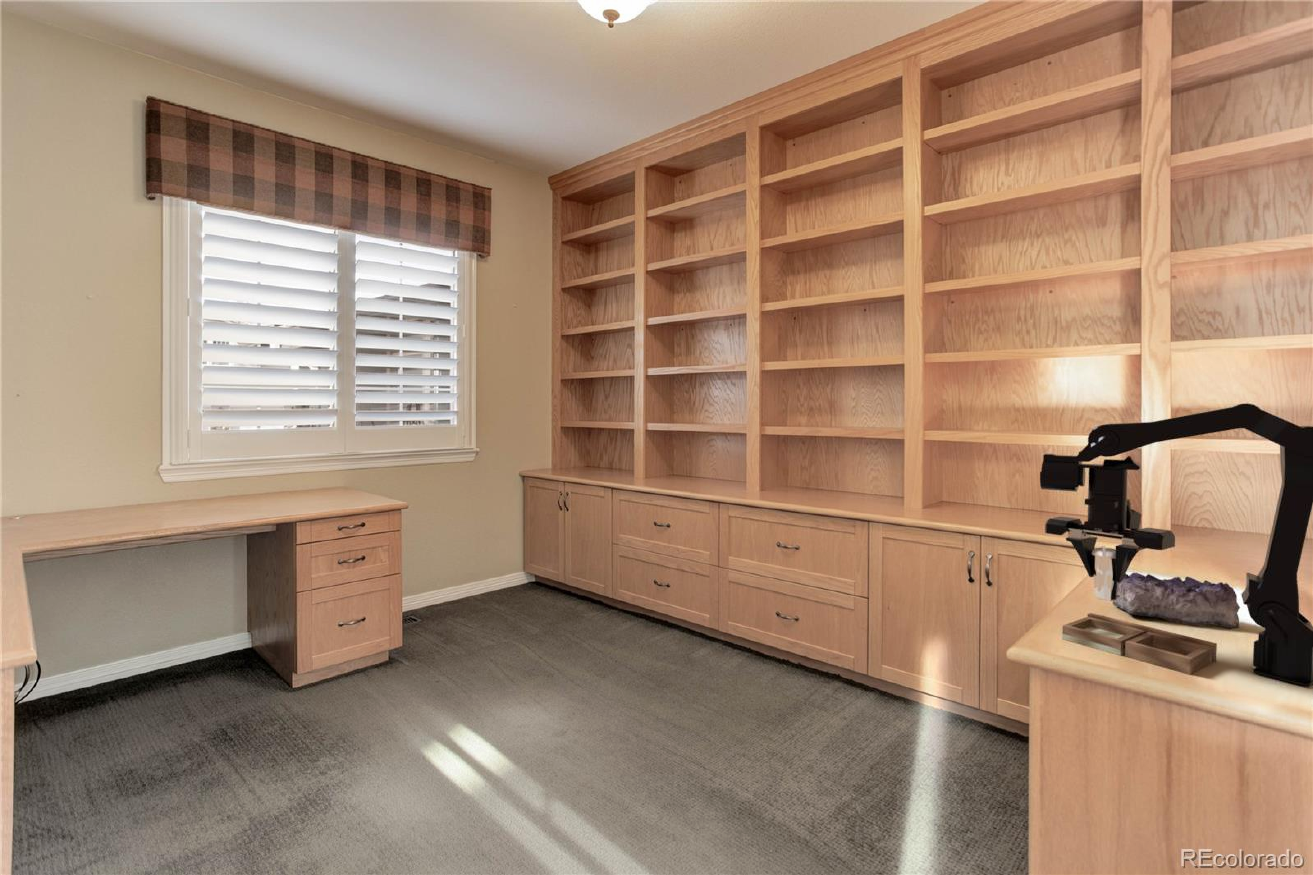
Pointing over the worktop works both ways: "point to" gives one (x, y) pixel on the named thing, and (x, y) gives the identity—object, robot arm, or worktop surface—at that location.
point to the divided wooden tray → (1141, 643)
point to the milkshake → (1105, 573)
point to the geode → (1179, 600)
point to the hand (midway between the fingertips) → (1105, 579)
